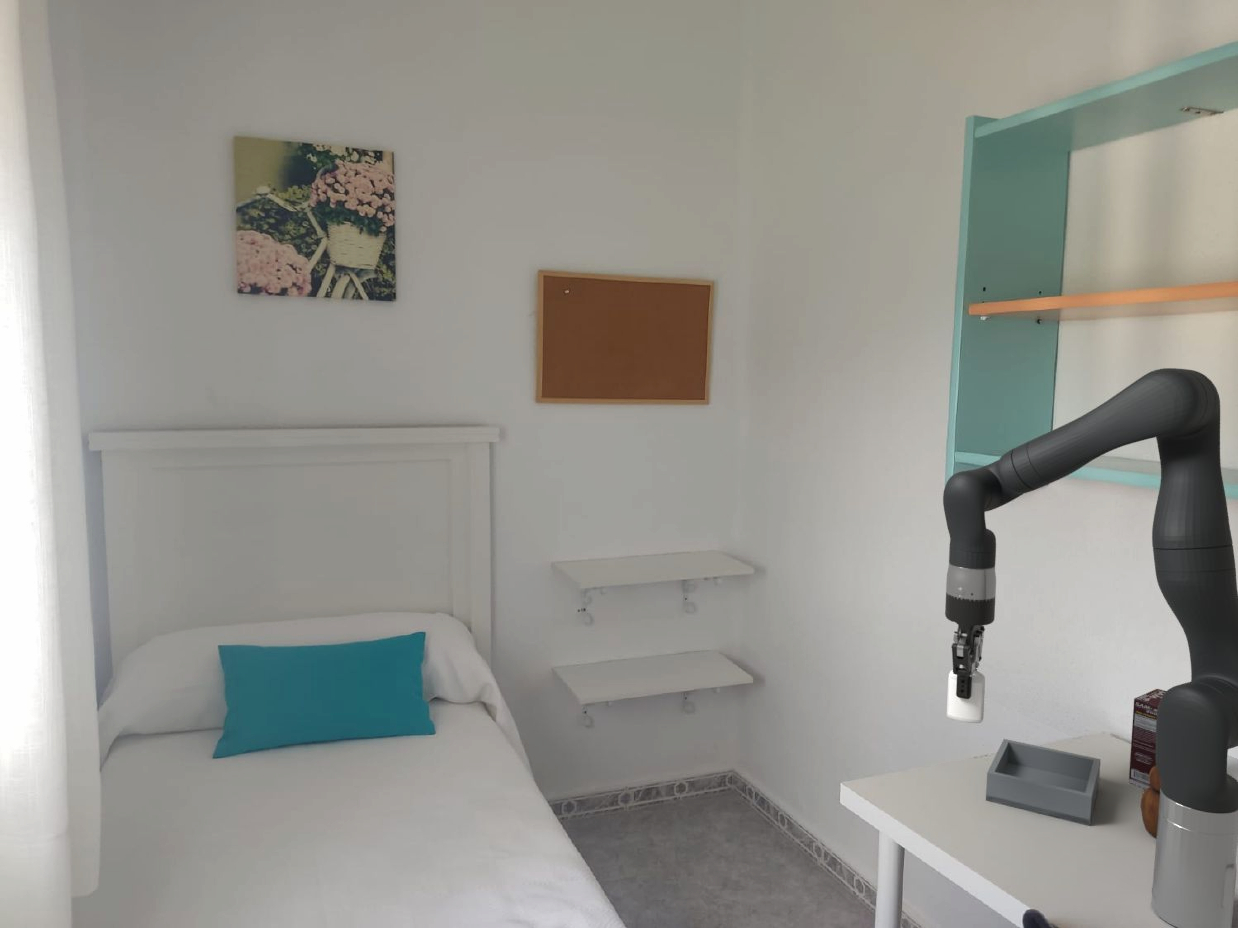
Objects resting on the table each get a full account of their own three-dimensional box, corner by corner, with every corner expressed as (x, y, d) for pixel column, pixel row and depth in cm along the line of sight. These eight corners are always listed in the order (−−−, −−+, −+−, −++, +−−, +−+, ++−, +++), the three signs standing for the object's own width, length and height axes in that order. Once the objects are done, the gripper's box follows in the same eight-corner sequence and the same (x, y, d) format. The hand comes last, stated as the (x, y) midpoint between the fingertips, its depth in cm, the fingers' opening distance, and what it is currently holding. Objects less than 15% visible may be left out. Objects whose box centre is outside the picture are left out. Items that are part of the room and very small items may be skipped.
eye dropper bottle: (972, 727, 147) (975, 655, 146) (942, 716, 152) (944, 646, 150) (987, 721, 150) (991, 650, 148) (958, 710, 154) (961, 641, 153)
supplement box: (1150, 769, 168) (1156, 687, 166) (1178, 780, 164) (1185, 695, 162) (1126, 782, 163) (1132, 697, 161) (1154, 793, 159) (1161, 706, 157)
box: (1098, 785, 162) (1100, 759, 161) (1089, 825, 149) (1091, 796, 148) (1002, 764, 171) (1003, 738, 170) (985, 800, 157) (987, 772, 157)
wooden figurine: (1190, 847, 142) (1197, 756, 140) (1149, 844, 143) (1156, 753, 141) (1173, 825, 149) (1180, 738, 147) (1134, 822, 150) (1141, 735, 148)
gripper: (986, 605, 140) (981, 712, 142) (1003, 585, 152) (998, 684, 154) (936, 598, 144) (932, 703, 146) (956, 579, 156) (952, 676, 158)
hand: (966, 692), depth 150 cm, fingers closed on eye dropper bottle, 3 cm apart
